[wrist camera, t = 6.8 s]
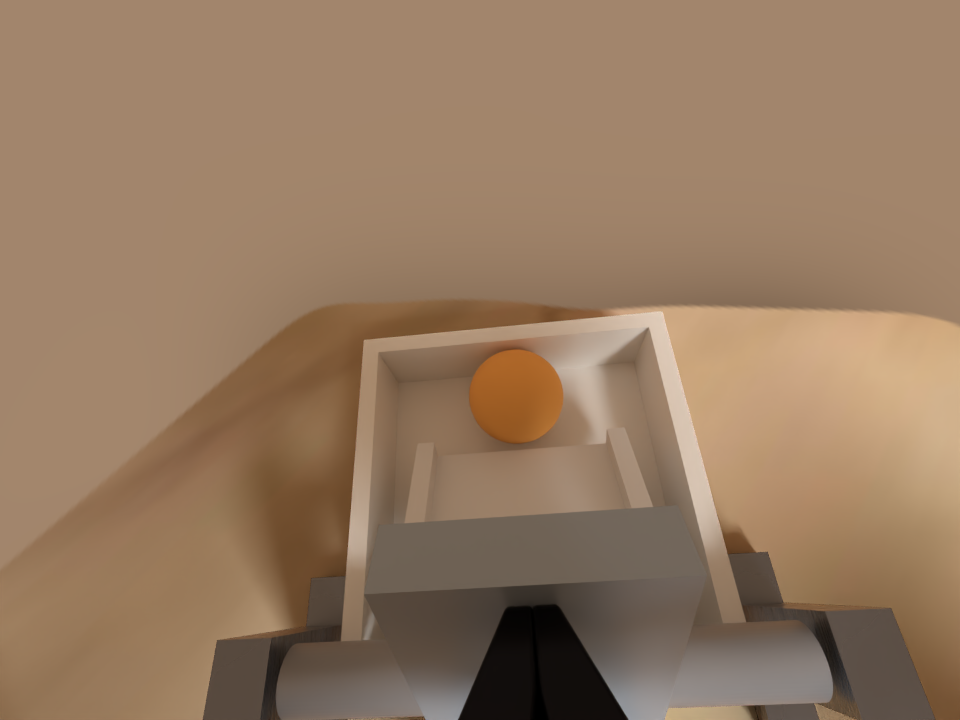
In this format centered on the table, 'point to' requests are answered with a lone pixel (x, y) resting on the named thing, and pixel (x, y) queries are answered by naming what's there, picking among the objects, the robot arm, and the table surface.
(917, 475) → the table surface
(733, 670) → the lever
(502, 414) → the ball
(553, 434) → the white storage bin
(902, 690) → the stand
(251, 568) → the table surface
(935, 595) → the table surface
